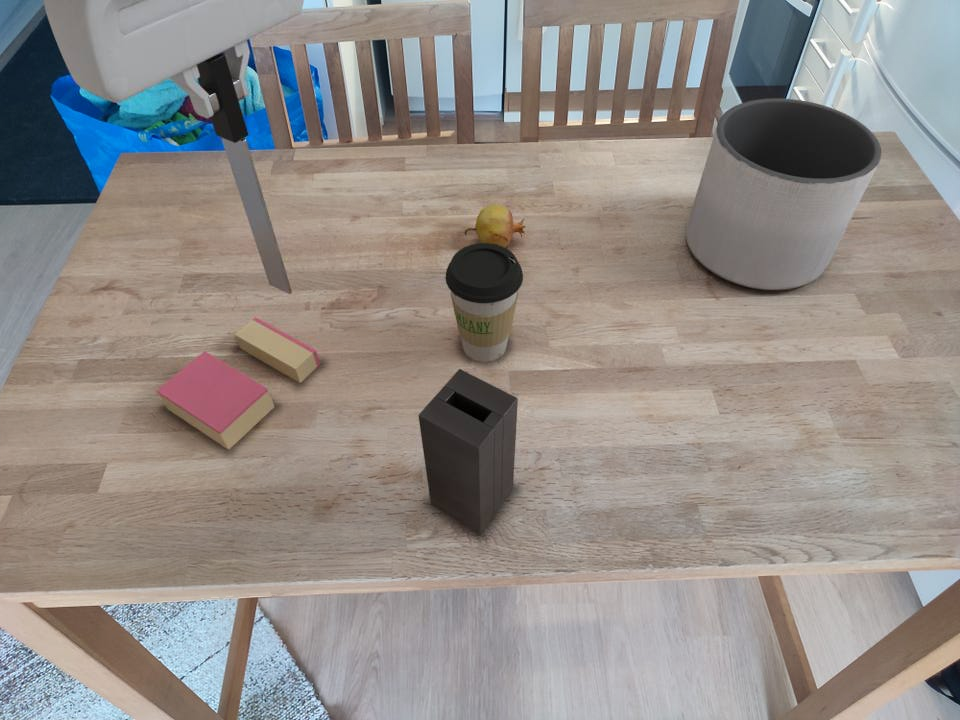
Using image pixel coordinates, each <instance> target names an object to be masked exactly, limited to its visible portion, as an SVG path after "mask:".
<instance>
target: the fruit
mask: <svg viewBox="0 0 960 720" xmlns="http://www.w3.org/2000/svg"><path fill="white" fill-rule="evenodd" d="M524 221H525V217H523V218H522V219H521V221H520V222H514V219H513V213H512V211H511V210H510V209H509V208H508V207H506V206H504V205H502V204H490V205H488V206H485V207H484V208H482V209H481V210H480V211H479V213H478V214H477V217H476V221H475V226H474V228H473V227H468V228H466V229H465V230H464V232H463V233H464V235H465V236H467V235H468V232H470V231H475V233H476V236H477V238H478V240H479V243H491V244H497V245H500V246H503V247H505V248H507V247H508V246H509V245H510V244H511V241H512V238H513V235H514V234H515V233H519V234H520V237H521V239H523V235H526V232H525V230H524V229H525V228H527V226H526V225H524V224H523V223H524Z"/></svg>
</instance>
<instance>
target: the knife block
mask: <svg viewBox="0 0 960 720" xmlns="http://www.w3.org/2000/svg"><path fill="white" fill-rule="evenodd" d="M518 402H519V398H518V397H517V396H514V395H513V394H510V393H508V392H507V391H505V390H502V389H501V388H498V387H497V386H494V385H493V384H492V383H489V382H487V381H485V380H483V379H481V378H479V377H477V376H476V375H473V374H471V373H470V372H467V371H465V370H464V369H462V368H458V370H457V371H456V372H455V373H454V374H453V375H452V376H451V378H450V379H449V380H448V381H447V382H446V383H445V384H444V386H443V387H441V389H440V390H439V391H438V392H437V393H436V395H435V396H434V397H432V399H431V400H430V401H429V402H428V403H427V404H426V406H425V407H424V408H423V409H422V410H421V411H420V413H419V414H418V415H417V416H418V422H419V430H420V436H421V437H420V438H421V445H422V451H423V452H422V453H423V458H424V465H425V473H426V480H427V487H428V495H429V503H430V506H431V507H433V508H434V509H436V510H437V511H438V512H440V513H442V514H444V515H446V516H447V517H448V518H450V519H452V520H454V521H455V522H457V523H459V524H460V525H462V526H463V527H465V528H467V529H468V530H470V531H471V532H473V533H475V534H476V535H478V536H483V533H484V532H485V531H486V529H487V528H488V526H489V525H490V524H491V523H492V521H493V520H494V518H495V516H496V515H497V513H498V512H499V511H500V509H501V508H502V507H503V505H505V502H506V501H507V499H508V498H509V497H510V495H511V494H512V492H513V491H514V478H515V477H514V476H515V475H514V474H515V458H516V439H517V421H518Z"/></svg>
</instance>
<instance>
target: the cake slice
mask: <svg viewBox="0 0 960 720" xmlns="http://www.w3.org/2000/svg"><path fill="white" fill-rule="evenodd" d="M234 337H235V340H236V342H237V344H238V346H239V349H241V350H243V352H246V353H247V354H249V355H250V356H252V357H255V358H256V359H257V360H259V361H260V362H261V361H262V362H263V363H265V364H267V365H268V366H269V367H271V368H273V369H275V370H277V371H278V372H280V373H282V374H283V375H286V376H287V377H289V378H290V379H292V380H294V381H296V382H298V383H299V384H301V383H302V382H304V380H305V379H307V377H309V376H310V375H311V374H312V373H313V372H314V371H315V370H316V369H317V368H318V367H319V366H320V365H321V362H320V358H319V355H318V352H317V349H315V348H313V347H311V346H309V345H307V344H306V343H304V342H302V341H300V340H299V339H296V338H295V337H293V336H291V335H289V334H287V333H286V332H283V331H282V330H280V329H278V328H276V327H275V326H273V325H270V324H269V323H268V322H266V321H264V320H261V319H260V318H258V317H257V316H254V317H253V318H252V319H251V320H250V321H248V323H246V324H245V325H243V326H242V327H241V328H240V329H239V330H238V331H236V332H235V333H234Z"/></svg>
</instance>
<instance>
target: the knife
mask: <svg viewBox="0 0 960 720" xmlns="http://www.w3.org/2000/svg"><path fill="white" fill-rule="evenodd" d="M197 68H198V71H199V74H200V77H199V78H197V79H196V80H197V83H198V84H199V85H200V86H201V87H205V88H207V89H208V90H213V91H216V92H217V94H218V97H219V103H220V104H221V106H222V111H220V112H219V113H217V114H215V115H214V116H212V117H210V118H209V119H210V121H211V124H212V127H213V129H214V133H215V135H216V137H219V138H220V139H221V142H222V145H223V148H224V151H225V154H226V157H227V160H228V163H229V166H230V169H231V172H232V175H233V178H234V181H235V184H236V187H237V190H238V193H239V196H240V199H241V202H242V205H243V208H244V211H245V215H246V218H247V221H248V223H249V226H250V230H251V232H252V233H251V234H252V236H253V239H254V242H255V245H256V248H257V251H258V254H259V257H260V261H261V263H262V267H263V269H264V272H265V276H266V278H267V281H268V285H270V286H272V287H273V288H276V289H278V290H280V291H281V292H283V293H286V294H288V295H291V294H292V293H293V291H292V288H291V283H290V280H289V277H288V274H287V270H286V268H285V264H284V261H283V258H282V254H281V251H280V248H279V247H280V246H279V244H278V241H277V238H276V234H275V231H274V228H273V227H274V226H273V224H272V221H271V217H270V214H269V211H268V207H267V204H266V201H265V197H264V194H263V190H262V187H261V184H260V180H259V177H258V173H257V170H256V167H255V164H254V160H253V158H252V154H251V149H250V148H249V144H248V141H247V139H246V137H248V136H249V132H248V128H247V124H246V122H245V118H244V115H243V111H242V108H241V104H240V101H238V97H237V94H236V90H235V87H234V84H233V80H232V77H231V73H230V70H229V67H228V63H227V60H226V56H225V53H222V52H221V53H219V54H217V55H215V56H213V57H211V58H209V59H207V60H205V61H203V62H201V63H199V64H197Z"/></svg>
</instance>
